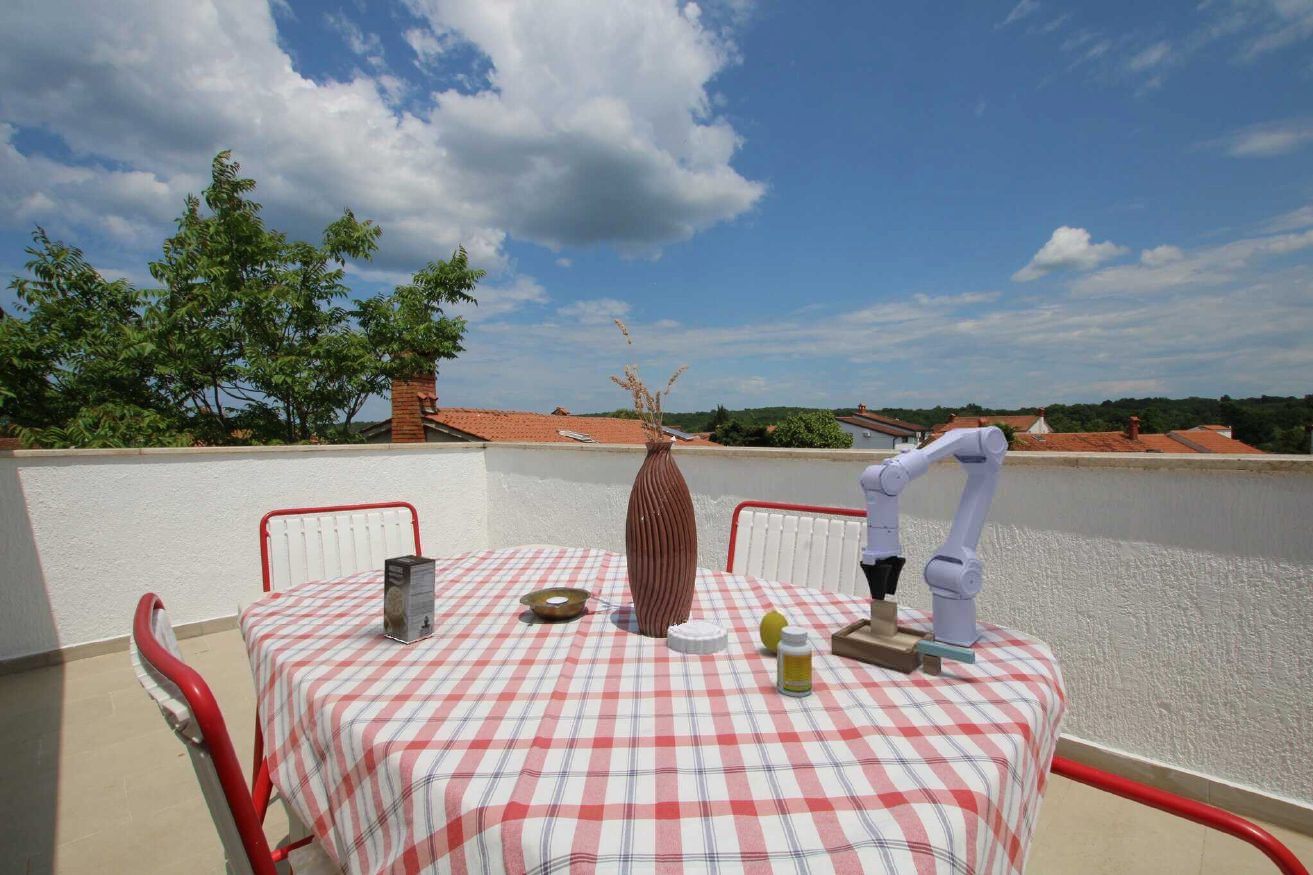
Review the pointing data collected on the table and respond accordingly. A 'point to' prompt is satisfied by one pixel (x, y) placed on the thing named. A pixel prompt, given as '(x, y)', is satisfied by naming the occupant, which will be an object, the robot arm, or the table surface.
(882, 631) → the lid
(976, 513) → the robot arm
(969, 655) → the rectangular block
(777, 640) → the lemon
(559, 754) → the table surface
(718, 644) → the mooncake
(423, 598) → the coffee box
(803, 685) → the supplement bottle
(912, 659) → the tray
